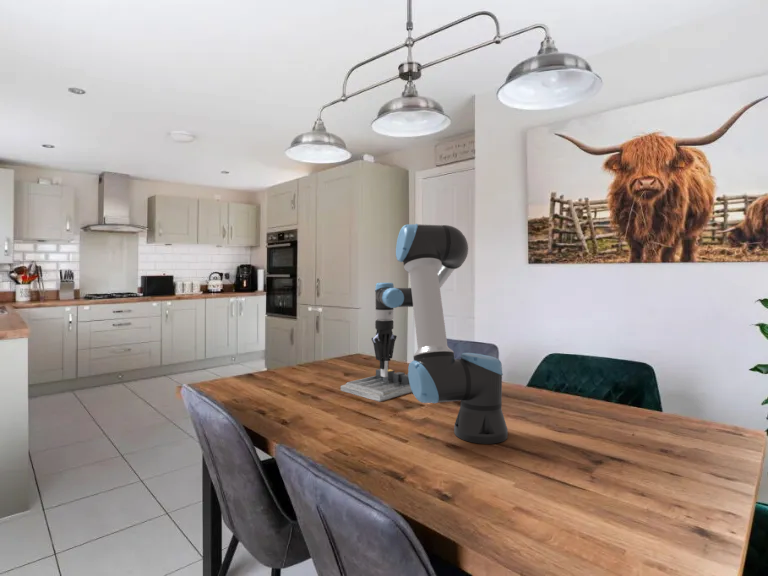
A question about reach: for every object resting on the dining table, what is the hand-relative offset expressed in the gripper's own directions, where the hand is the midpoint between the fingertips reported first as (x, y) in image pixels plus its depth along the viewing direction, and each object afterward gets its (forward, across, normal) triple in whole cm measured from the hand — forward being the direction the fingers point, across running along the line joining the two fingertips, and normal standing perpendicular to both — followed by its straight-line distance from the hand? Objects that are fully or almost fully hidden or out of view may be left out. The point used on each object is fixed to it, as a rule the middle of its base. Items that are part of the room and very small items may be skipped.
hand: (384, 376), depth 179 cm
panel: (+4, -3, -2) cm, 6 cm away
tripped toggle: (+2, +3, 0) cm, 3 cm away
